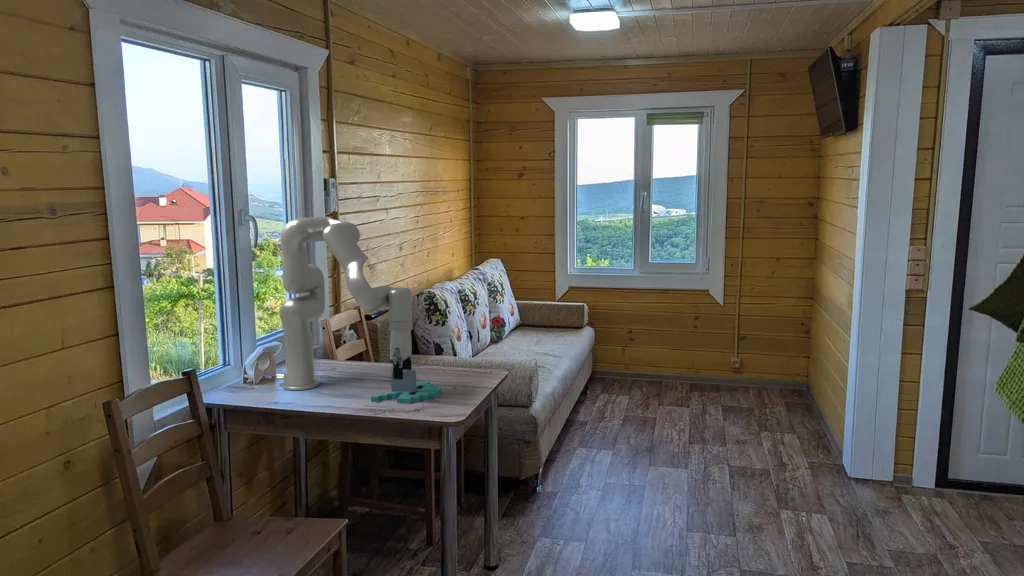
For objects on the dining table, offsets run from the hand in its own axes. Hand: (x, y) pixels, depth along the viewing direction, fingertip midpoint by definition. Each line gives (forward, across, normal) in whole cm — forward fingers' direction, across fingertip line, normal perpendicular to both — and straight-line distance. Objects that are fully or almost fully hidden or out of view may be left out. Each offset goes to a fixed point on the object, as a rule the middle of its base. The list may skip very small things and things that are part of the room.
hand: (402, 375), depth 232 cm
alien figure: (+8, -2, +2) cm, 8 cm away
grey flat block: (+2, 0, +4) cm, 5 cm away
